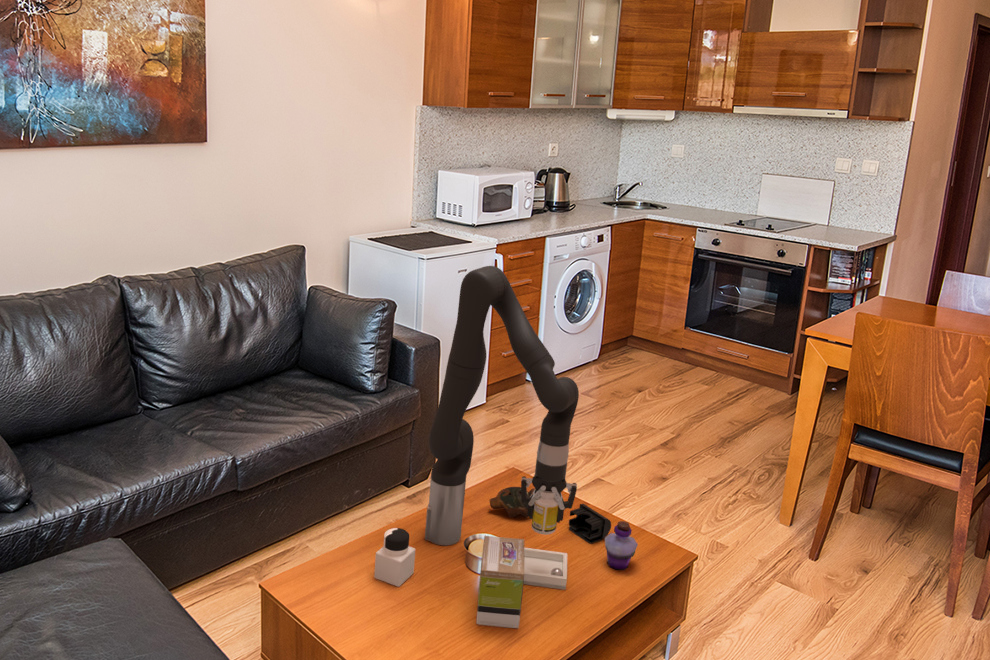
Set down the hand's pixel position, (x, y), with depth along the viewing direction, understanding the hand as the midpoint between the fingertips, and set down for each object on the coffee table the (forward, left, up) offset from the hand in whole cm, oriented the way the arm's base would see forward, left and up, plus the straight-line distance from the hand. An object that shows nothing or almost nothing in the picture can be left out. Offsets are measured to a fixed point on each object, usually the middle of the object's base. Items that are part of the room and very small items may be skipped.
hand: (544, 519), depth 208 cm
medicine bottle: (-35, -10, -15) cm, 39 cm away
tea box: (-9, -17, -15) cm, 25 cm away
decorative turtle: (-8, +29, -15) cm, 34 cm away
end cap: (+13, +23, -16) cm, 31 cm away
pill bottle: (0, 0, -3) cm, 3 cm away
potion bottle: (+21, +9, -15) cm, 27 cm away
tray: (0, 0, -15) cm, 15 cm away
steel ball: (+5, -3, -14) cm, 15 cm away
